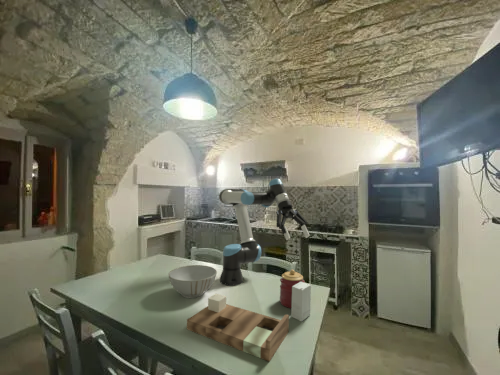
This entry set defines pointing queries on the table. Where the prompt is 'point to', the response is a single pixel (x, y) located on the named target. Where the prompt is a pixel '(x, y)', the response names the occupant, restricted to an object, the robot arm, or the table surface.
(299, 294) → the skincare box
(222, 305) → the block
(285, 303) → the canister
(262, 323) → the board
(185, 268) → the decorative bowl
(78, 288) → the table surface
